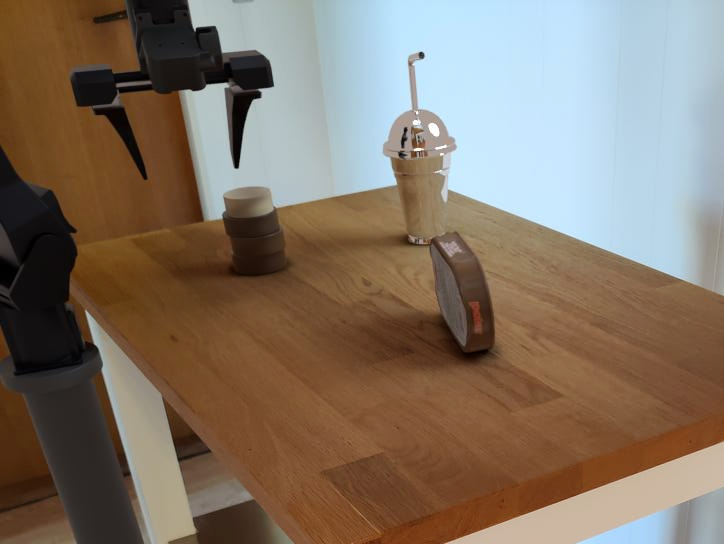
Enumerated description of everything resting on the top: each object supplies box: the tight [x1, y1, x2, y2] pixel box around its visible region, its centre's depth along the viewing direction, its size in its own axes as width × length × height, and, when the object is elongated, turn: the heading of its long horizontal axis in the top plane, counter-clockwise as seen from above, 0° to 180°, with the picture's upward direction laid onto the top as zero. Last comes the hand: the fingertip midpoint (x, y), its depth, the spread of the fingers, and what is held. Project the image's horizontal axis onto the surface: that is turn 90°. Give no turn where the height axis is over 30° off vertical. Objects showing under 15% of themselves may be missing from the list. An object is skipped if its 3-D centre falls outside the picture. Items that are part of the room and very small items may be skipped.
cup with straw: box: [381, 51, 458, 245], centre depth 112 cm, size 8×9×20 cm
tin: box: [429, 230, 496, 354], centre depth 91 cm, size 15×3×8 cm, turn 14°
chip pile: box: [221, 205, 288, 276], centre depth 112 cm, size 6×6×6 cm
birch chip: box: [222, 185, 274, 218], centre depth 109 cm, size 5×5×2 cm
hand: (191, 173), depth 101 cm, fingers open, 9 cm apart
